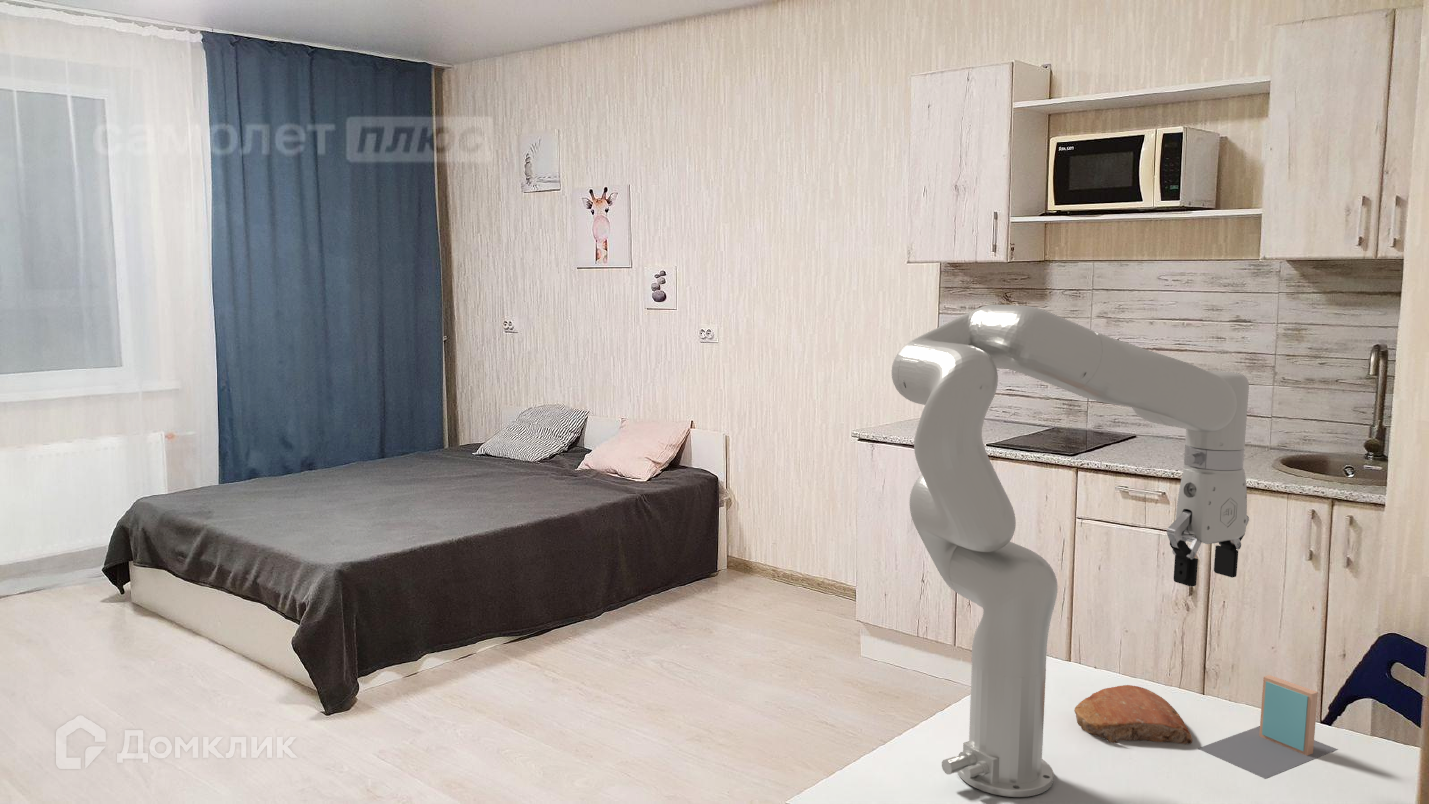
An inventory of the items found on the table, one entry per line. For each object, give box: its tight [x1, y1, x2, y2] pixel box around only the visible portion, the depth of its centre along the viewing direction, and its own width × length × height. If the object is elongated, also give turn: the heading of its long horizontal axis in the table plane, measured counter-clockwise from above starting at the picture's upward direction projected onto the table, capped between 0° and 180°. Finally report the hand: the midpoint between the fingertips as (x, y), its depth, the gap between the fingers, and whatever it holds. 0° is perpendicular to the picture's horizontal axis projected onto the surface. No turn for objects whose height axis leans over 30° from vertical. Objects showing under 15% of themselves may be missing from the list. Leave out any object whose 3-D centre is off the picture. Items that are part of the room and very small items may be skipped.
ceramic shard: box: [1074, 684, 1193, 745], centre depth 153 cm, size 15×6×15 cm
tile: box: [1259, 674, 1319, 756], centre depth 145 cm, size 2×7×9 cm, turn 30°
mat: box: [1197, 725, 1339, 780], centre depth 145 cm, size 17×10×1 cm, turn 120°
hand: (1205, 579), depth 146 cm, fingers open, 8 cm apart
